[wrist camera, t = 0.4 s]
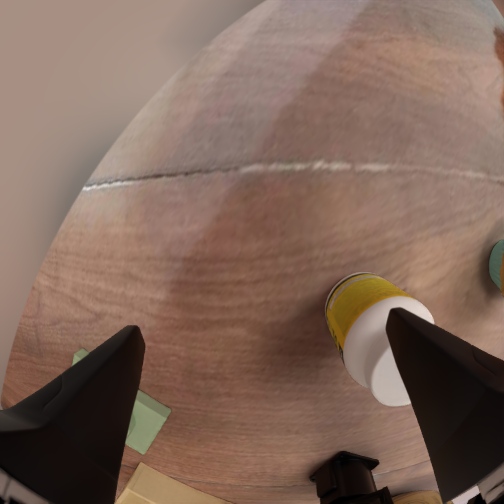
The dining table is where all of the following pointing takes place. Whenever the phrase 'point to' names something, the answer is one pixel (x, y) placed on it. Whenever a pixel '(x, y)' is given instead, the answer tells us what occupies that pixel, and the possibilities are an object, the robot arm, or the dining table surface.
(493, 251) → the cupcake
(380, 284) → the pill bottle
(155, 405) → the panel
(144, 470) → the wooden planter box
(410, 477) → the dining table surface
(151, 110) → the dining table surface
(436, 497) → the ceramic bowl
